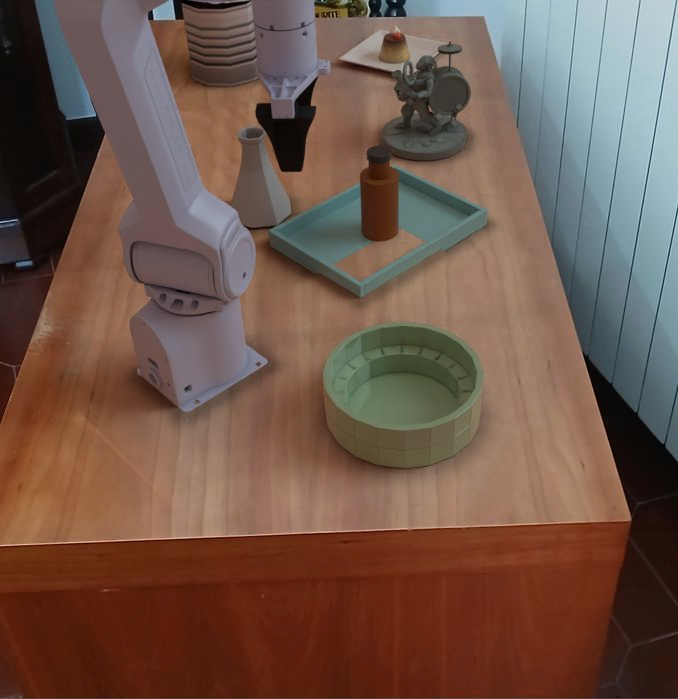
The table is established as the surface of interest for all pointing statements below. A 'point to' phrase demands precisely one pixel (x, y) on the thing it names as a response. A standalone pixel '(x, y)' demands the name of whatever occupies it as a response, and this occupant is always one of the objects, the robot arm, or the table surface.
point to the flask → (258, 184)
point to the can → (221, 41)
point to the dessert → (391, 51)
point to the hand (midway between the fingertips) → (294, 151)
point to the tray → (346, 238)
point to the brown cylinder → (379, 196)
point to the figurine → (425, 126)
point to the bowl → (403, 394)
